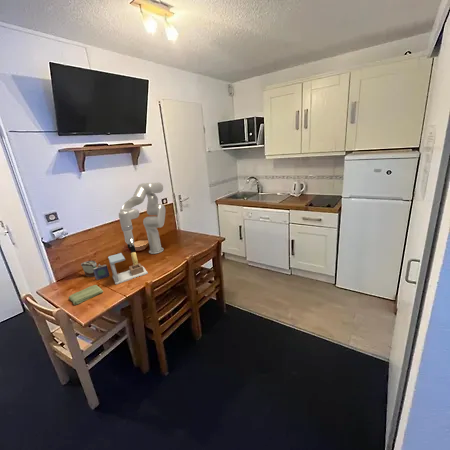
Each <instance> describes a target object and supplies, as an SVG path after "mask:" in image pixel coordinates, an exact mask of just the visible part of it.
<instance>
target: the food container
mask: <svg viewBox="0 0 450 450" xmlns="http://www.w3.org/2000/svg"><path fill="white" fill-rule="evenodd" d="M80 266H81V267H82V269H83V273H84V274H85V276H86V277H94V278H95V275H94V271H93V269H94V268H96V267H97V266H98V264H97V262H96V261H95V260H87V261H84V262H81V263H80Z"/></svg>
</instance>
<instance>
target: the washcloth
mask: <svg viewBox="0 0 450 450" xmlns="http://www.w3.org/2000/svg"><path fill="white" fill-rule="evenodd" d="M102 293H104V290H103V289H102V288H101V287H100V286H98V284H93V285H90V286H88V287H86V288H83V289H81V290H80V291H76V292H74V293H72V294H70V295H69V296H68V299H69V300H70V301H71V302H72V303H73V305H75V306H78V305H80V304H82V303H84V302H86V301H88V300H90V299H92V298H95V297H96V296H98V295H101V294H102Z"/></svg>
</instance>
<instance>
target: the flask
mask: <svg viewBox="0 0 450 450" xmlns="http://www.w3.org/2000/svg"><path fill="white" fill-rule="evenodd" d="M93 271H94V275H95V277H94V278H95V280H96V281H99V280H102V279H105V278H109V277H110V276H111V275H110V273H109V268H108V265H107V264H103V265H101V264H100V263H99V264H97V266H96V268H94V269H93Z"/></svg>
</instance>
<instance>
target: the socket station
mask: <svg viewBox="0 0 450 450" xmlns="http://www.w3.org/2000/svg"><path fill="white" fill-rule="evenodd" d="M107 259H108V261H109V265H110V269H111V272H112V273H111V274H112V279H113V282H114V284H115V285H120V284H122V283H125V282H128V281H130V280H134V279H136V277H137V278H140V277H143V276H145V275H148V274H149V273H148V271H147V270H146V268H145V267H144V265H142V264H141V262H138V264H136V265H133V264H132V265H130V266H128V267H129V268H128V270H126V271H125V270H124V271H122V272H120V273H119V272H117V269H116V265H115V264H116V263H121V262H123V261H126V258H125V256H124V255H123V253H122V252H119V253H117V254H112V255H109V256H108V257H107ZM139 276H140V277H139ZM133 278H134V279H133Z"/></svg>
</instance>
